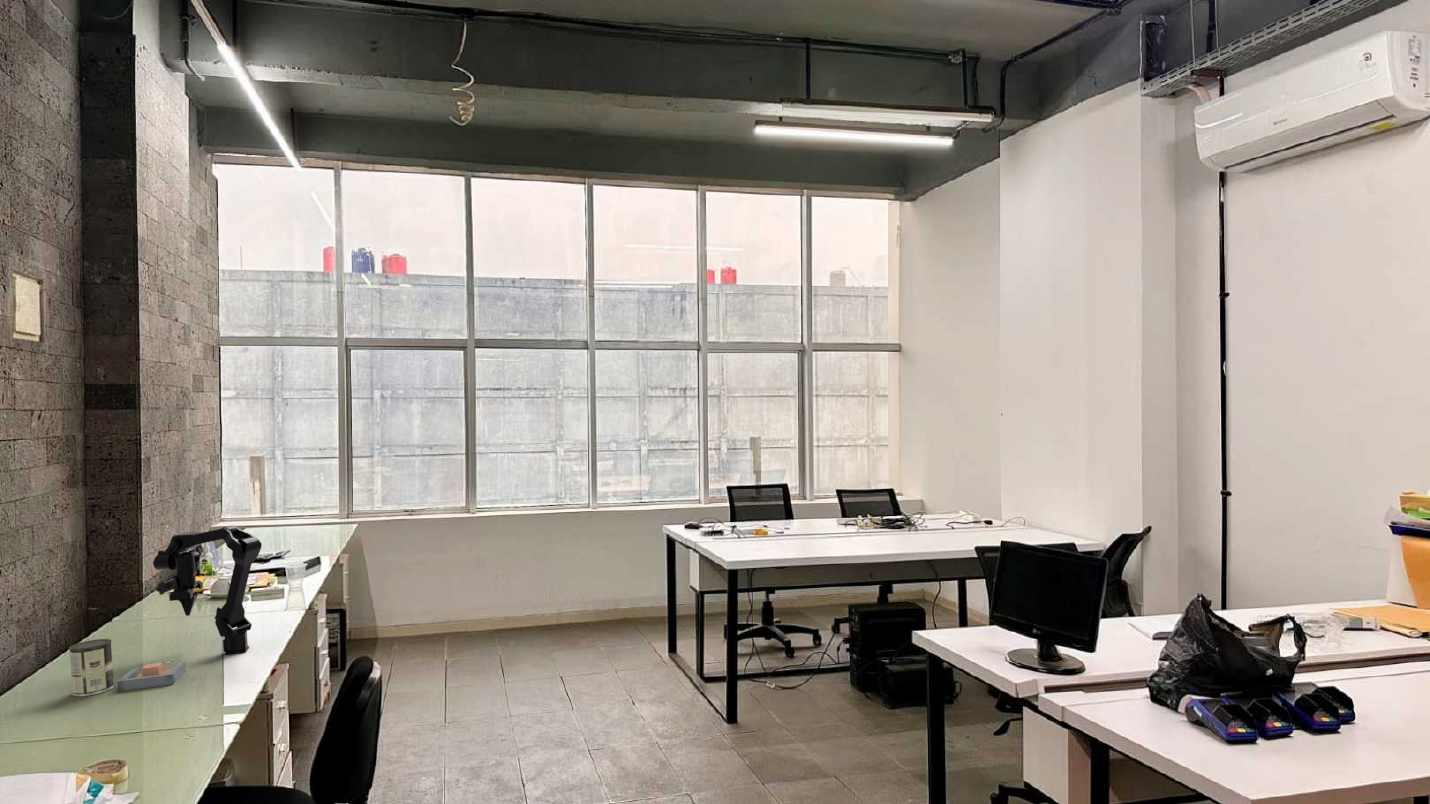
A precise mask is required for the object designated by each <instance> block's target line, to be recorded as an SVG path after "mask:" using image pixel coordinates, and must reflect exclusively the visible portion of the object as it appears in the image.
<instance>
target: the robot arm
mask: <svg viewBox="0 0 1430 804" xmlns="http://www.w3.org/2000/svg"><path fill="white" fill-rule="evenodd" d="M219 540H220V541H221V540H223V541H224V542H225V545H226V547H227V548H228V549H230V550H231V551H232V552H231V556H232V559H233V561H234V562H233V563H234V565H233V570H232V574H231V580H230V581H229V587H228V591H227V596H226V600H225V602H224V605H221V606H218V607H217V608H216V610H215V611H216V614H215V616H214V618H213V619H214V620H215V621H214V623H215V627H216V628H217V631H218V634H219V636H220V637H223V639H222V651H223V655H224V656H225V655H233V654H243V653H246V652H247V651H248V650H249V648H250V646H249V644H248V642H249V641H248V631H250V630H251V629H252V625H253V624H252V622H250V621H249V619H248V618H247V617H246V616H245V613H246V610H245V608H244V604H243V601H244V597H245V593H246V588H247V584H248V580H249V575H250V571H251V567H252V564H253V563H254V562H255V561H256V559H257V558H258V556H259V554H260V552H261V550H262V547H263V546H262V542H261V541H260V539H259V538H258V537H256V536H254V535H253V534H251V533H249V532H247V531H244V530H242V529H240V528H238V527H237V526H235V525H228V526H225V527H222V528H218V529H212V530H208V531H204V532H200V531H199V532H198V531H188V532H185V533H179V534H175V535H173V536H172V537H171V539H170V542H169V544H168V545H167V548H166V549H161V550H158V551H157V554H156V555H155V557H154V559H153V562H152V565H153V567H154V569H155V570H156V571H175V574H174V575H172V576H173V578H171V579H169V580H166V581H165V580H162V581H161V582H158V583H157V586H155V588H156V592H158V593H159V595H160V596H162V595H164V594H165V593H167V592H170V591H172V592H171V593H170V594H169V595H168V597H169V598H168V599H169V601H170V602H174V601H178V602H180V604H181V607H182V608H183V612H184V615H185V616H186V617H189V616H191V613H192V611H193V608H194V606H195V603H196V601H197V599H198V596H199V594H200V592H199V591H194V590H196V589H199V590H202V589H204V582H202V581H201V580H199V579H198V580H196V579H197V578H196V576H197V574H198V570H196V562H195V557H196V558H197V557H199V556H200V555H201V554H200V553H199V552H198V551H197V550H195V549H194V548H196V547H200V546H202V545H203V544H205V543H211V542H216V541H219Z"/></svg>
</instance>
